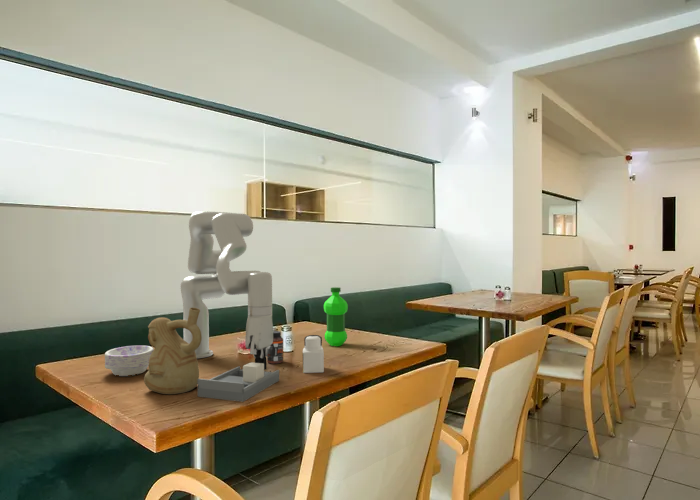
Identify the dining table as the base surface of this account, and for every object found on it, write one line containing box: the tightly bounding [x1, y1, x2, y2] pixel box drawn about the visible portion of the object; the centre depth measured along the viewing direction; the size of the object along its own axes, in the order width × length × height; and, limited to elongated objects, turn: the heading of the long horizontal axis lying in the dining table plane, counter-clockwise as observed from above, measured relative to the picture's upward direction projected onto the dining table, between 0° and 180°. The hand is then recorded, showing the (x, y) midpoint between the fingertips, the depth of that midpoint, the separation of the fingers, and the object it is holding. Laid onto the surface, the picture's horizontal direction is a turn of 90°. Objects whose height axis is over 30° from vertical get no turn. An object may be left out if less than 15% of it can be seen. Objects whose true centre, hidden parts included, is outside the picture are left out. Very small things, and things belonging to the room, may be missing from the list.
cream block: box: [242, 361, 265, 382], centre depth 141 cm, size 5×5×5 cm
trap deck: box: [197, 365, 280, 403], centre depth 141 cm, size 15×22×5 cm
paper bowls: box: [104, 345, 155, 377], centre depth 159 cm, size 15×15×8 cm
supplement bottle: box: [266, 330, 284, 365], centre depth 172 cm, size 6×6×11 cm
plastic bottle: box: [323, 286, 349, 347], centre depth 202 cm, size 10×10×25 cm
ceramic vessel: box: [143, 308, 202, 395], centre depth 140 cm, size 17×20×25 cm
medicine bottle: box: [302, 334, 325, 374], centre depth 161 cm, size 7×7×12 cm
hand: (260, 369), depth 145 cm, fingers closed
